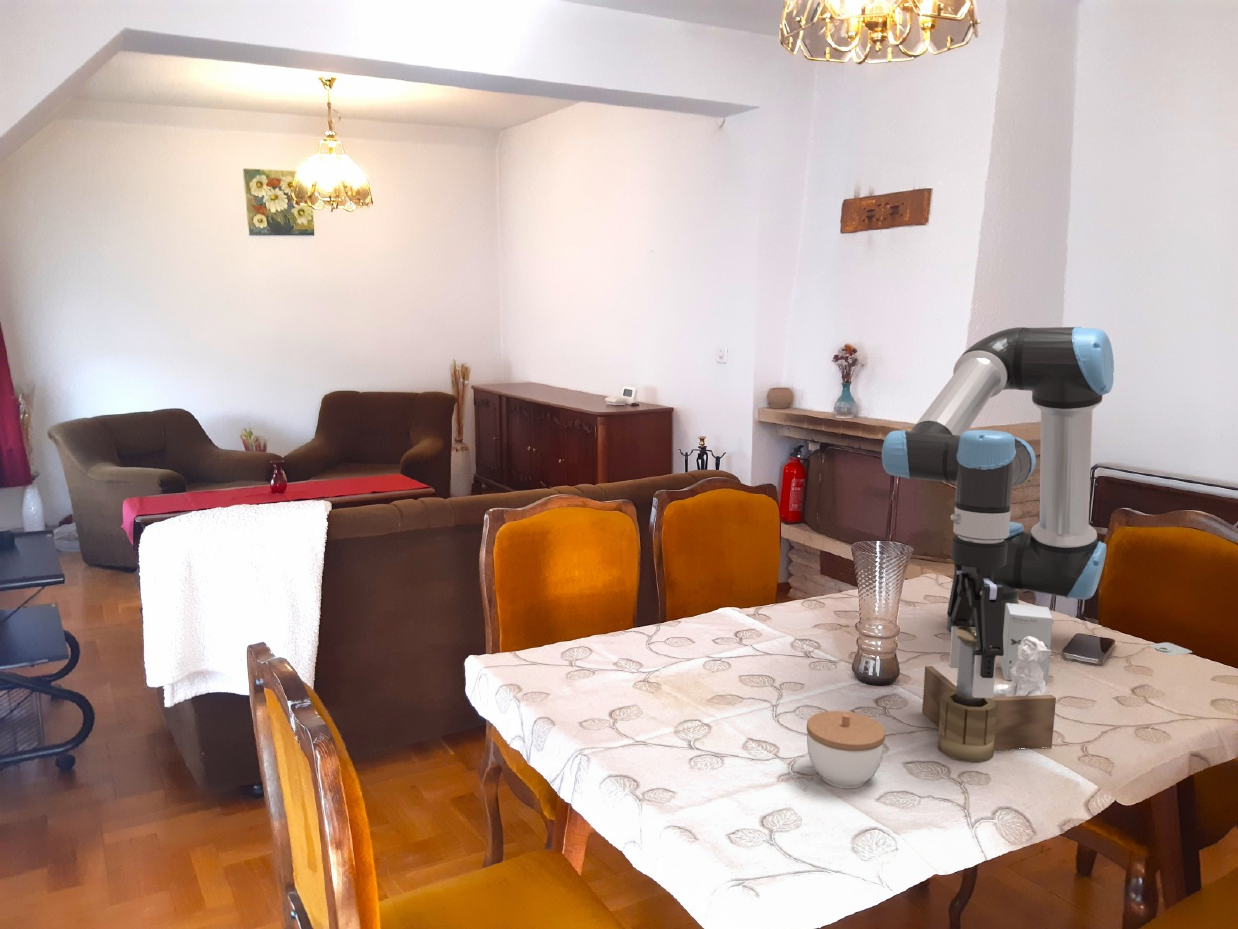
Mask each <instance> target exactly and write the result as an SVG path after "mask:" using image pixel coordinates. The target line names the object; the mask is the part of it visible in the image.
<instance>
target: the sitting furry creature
mask: <svg viewBox="0 0 1238 929" xmlns="http://www.w3.org/2000/svg"><path fill="white" fill-rule="evenodd" d="M1018 648H1019V649H1018V653H1017V654H1018V659H1019V660H1018V661H1017V662H1016V664H1015V666H1014V667H1013V668H1012V669H1011V670H1010V672H1011V675H1012V680H1010V681H1011V683H1008V684H1007V683H1006V684H1005V683H1004V684H1001V683H999V684H994V695H993V697H1009V696H1034V695H1049V693H1050V691H1049V690H1048V689H1049V688H1048V687H1047V684H1045V681H1044V680H1043V675H1044V673H1043V672H1042V670H1041V667H1040V666H1039V665H1038V663H1042V661H1044V659H1045V658H1047V657H1049V658H1050V656H1052V650H1051V649H1050V650H1047V647H1046V646H1045V644H1044V643H1043V642H1042V641H1039V640H1038V639H1036V638H1034V637H1031V636H1027V637H1025V638H1024V639H1023V640H1022V641H1021V644H1020V645H1019V646H1018Z"/></svg>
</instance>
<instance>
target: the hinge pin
mask: <svg viewBox="0 0 1238 929" xmlns="http://www.w3.org/2000/svg"><path fill="white" fill-rule="evenodd" d="M957 638H959V639H960V646H959V661H958V668H957V678H956V686H957V690H956V703H958V704H961V705H964V706H967V707H981V704H982V698H974V697H973V696H972V691H973V677H974V662H975V655H974V654H973V652H974V651H975V650H978V645H977V636H976V628H975V627H960V628H958V629H957Z"/></svg>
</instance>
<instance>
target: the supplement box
mask: <svg viewBox="0 0 1238 929" xmlns="http://www.w3.org/2000/svg"><path fill="white" fill-rule="evenodd" d="M1053 621H1054V618H1053V616H1052V613H1051V610H1050V609H1049V607H1048V606H1040V605H1029V604H1020V603H1019V604H1012V603H1006V604H1005V618H1004V630H1003V648H1004V655H1003V656H1000V658H1001V659H1000V668H1001V672H1002V675H1003V679H1004V680H1007V681H1009V680H1010V681H1011V680H1012V675H1011V672H1010V670H1011V669H1012V668H1013V667H1014V666H1015V664H1016V662H1017V661H1018V660H1019V659H1018V654H1017V653H1018V649H1019V648H1018V646H1019V645H1020V644H1021V641H1022V640H1023V639H1024V638H1025V637H1027V636H1031V637H1034V638H1036V639H1038V640H1039V641H1042V642H1043V643H1044V644H1045V646H1046V647H1047V650H1051V642H1052V634H1053V633H1052V632H1053V623H1054V622H1053ZM1038 665H1039V666H1040V667H1041V670H1042V672H1043V673H1044V675H1043V680H1044V681H1045V684H1046V685H1047V684H1048V680H1049V667H1050V666H1049V665H1050V656H1049V657H1047V658H1045V659H1044V661H1042V663H1038Z"/></svg>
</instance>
